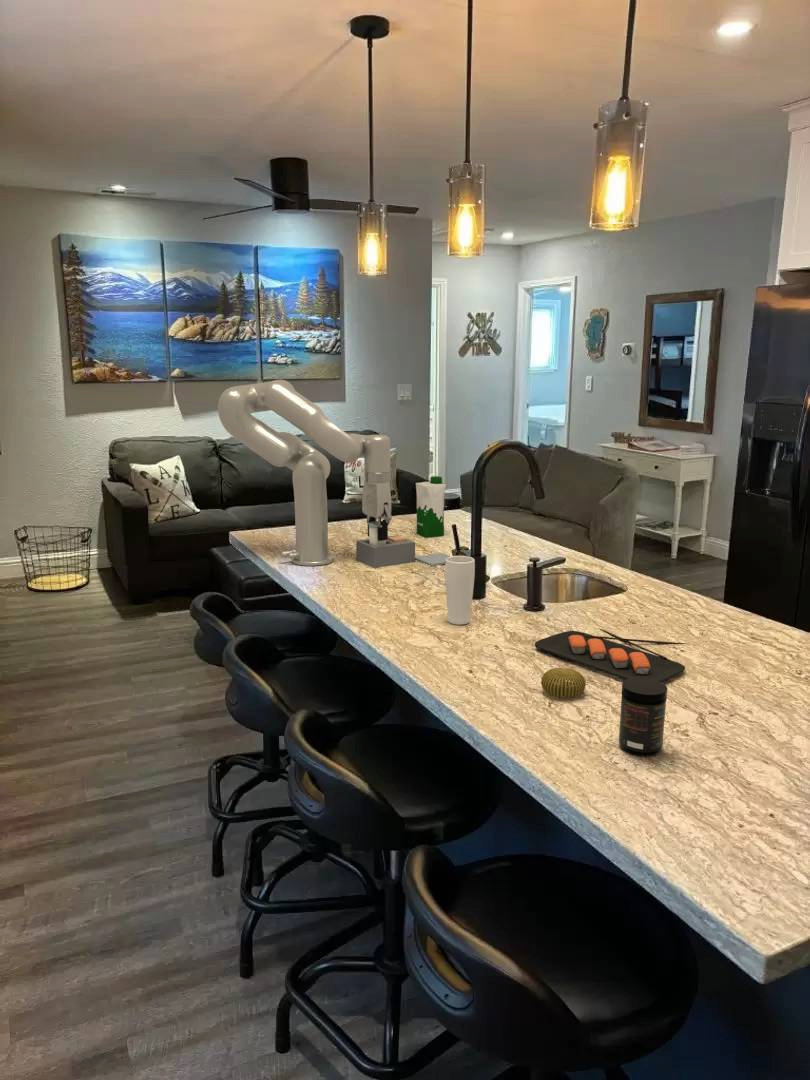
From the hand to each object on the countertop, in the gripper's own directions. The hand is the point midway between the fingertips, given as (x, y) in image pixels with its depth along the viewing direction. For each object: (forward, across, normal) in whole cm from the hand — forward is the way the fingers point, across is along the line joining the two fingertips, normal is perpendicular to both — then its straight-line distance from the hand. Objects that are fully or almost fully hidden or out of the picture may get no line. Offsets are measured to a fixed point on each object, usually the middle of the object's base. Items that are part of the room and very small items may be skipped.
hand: (377, 537), depth 239 cm
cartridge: (+7, 0, 0) cm, 7 cm away
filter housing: (+7, 0, +3) cm, 8 cm away
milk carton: (+8, -23, +34) cm, 42 cm away
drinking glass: (+8, +58, -11) cm, 60 cm away
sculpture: (+8, +101, -18) cm, 103 cm away
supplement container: (+8, +123, -22) cm, 125 cm away
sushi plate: (+8, +92, +8) cm, 93 cm away
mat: (+7, +8, +16) cm, 19 cm away
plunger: (+6, 0, +7) cm, 9 cm away
